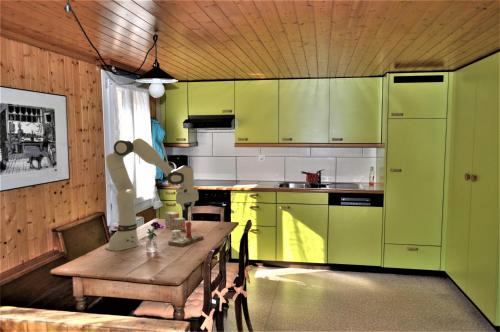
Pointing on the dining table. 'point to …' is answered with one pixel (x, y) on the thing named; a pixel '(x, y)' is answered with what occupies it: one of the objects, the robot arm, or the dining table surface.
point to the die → (176, 234)
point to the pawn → (188, 230)
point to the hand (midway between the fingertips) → (187, 208)
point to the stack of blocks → (174, 221)
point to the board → (185, 240)
